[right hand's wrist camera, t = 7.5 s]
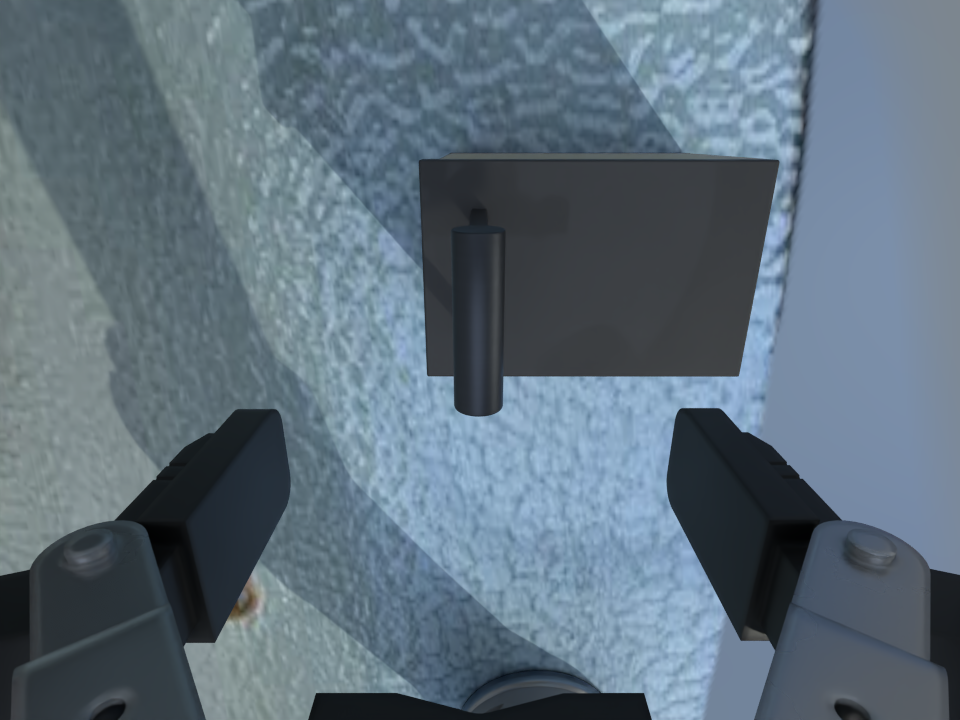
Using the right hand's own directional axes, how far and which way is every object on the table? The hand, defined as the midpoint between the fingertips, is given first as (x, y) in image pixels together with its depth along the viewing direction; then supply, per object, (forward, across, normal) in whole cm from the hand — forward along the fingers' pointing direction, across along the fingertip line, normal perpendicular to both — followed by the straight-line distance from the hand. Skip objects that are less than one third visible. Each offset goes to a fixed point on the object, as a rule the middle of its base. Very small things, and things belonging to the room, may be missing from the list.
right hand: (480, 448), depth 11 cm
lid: (+17, +5, 0) cm, 17 cm away
